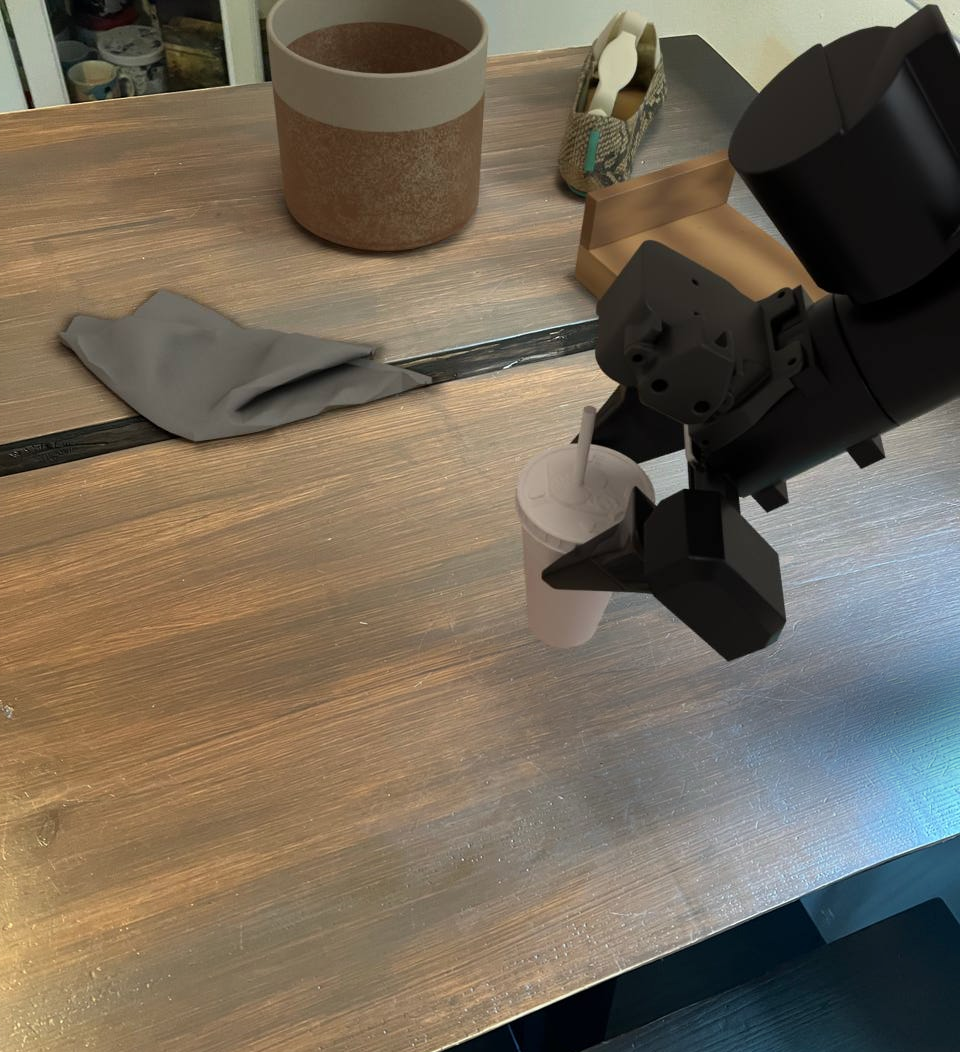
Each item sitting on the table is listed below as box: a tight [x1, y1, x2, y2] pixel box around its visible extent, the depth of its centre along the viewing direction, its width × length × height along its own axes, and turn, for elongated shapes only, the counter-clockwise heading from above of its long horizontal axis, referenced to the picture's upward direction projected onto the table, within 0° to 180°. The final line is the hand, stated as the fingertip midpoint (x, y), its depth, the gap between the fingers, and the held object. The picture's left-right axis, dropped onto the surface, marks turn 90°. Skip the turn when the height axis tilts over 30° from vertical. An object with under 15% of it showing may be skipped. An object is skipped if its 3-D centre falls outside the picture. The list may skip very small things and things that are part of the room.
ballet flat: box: [557, 9, 668, 198], centre depth 87 cm, size 8×25×9 cm, turn 166°
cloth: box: [56, 289, 433, 442], centre depth 68 cm, size 26×14×2 cm, turn 71°
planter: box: [265, 0, 489, 252], centre depth 77 cm, size 16×16×14 cm
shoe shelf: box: [573, 147, 830, 302], centre depth 73 cm, size 14×20×7 cm
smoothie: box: [513, 405, 656, 649], centre depth 47 cm, size 6×6×14 cm
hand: (550, 527), depth 47 cm, fingers closed on smoothie, 6 cm apart
